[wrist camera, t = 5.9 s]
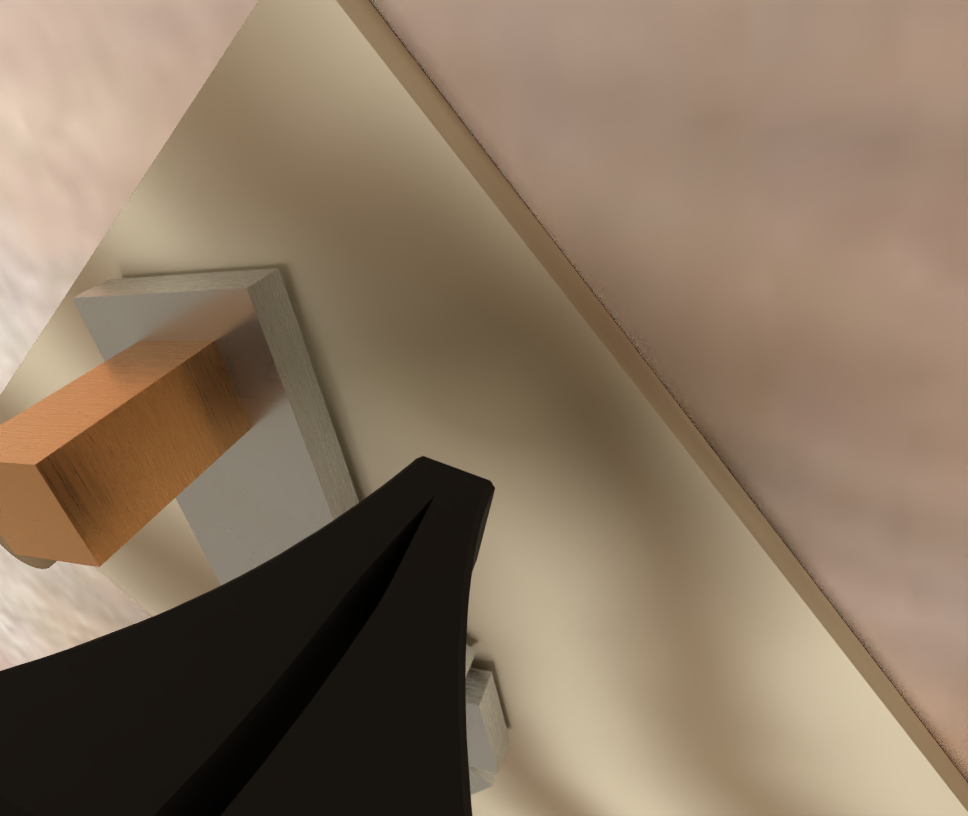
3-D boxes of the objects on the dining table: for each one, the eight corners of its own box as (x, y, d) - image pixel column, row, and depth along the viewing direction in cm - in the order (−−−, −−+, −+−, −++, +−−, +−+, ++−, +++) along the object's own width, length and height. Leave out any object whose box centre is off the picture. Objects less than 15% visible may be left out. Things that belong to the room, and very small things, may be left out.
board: (453, 849, 27) (444, 875, 26) (-7, 432, 21) (-36, 450, 20) (992, 814, 16) (1004, 859, 15) (328, -52, 10) (294, -53, 10)
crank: (524, 799, 20) (468, 1003, 16) (282, 738, 23) (186, 895, 19) (385, 261, 12) (196, 411, 8) (36, 284, 15) (-222, 398, 11)
